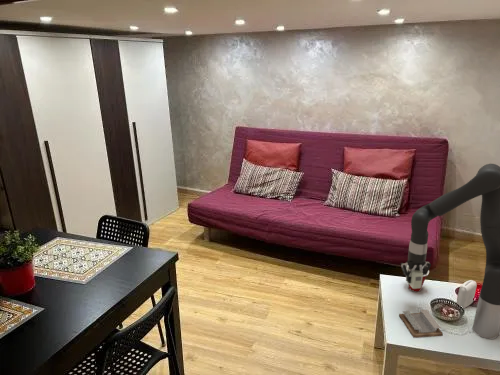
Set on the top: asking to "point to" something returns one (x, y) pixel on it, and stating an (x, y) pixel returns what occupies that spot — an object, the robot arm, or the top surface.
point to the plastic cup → (422, 282)
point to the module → (416, 279)
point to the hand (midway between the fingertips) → (413, 281)
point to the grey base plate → (422, 321)
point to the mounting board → (414, 332)
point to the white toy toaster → (466, 293)
